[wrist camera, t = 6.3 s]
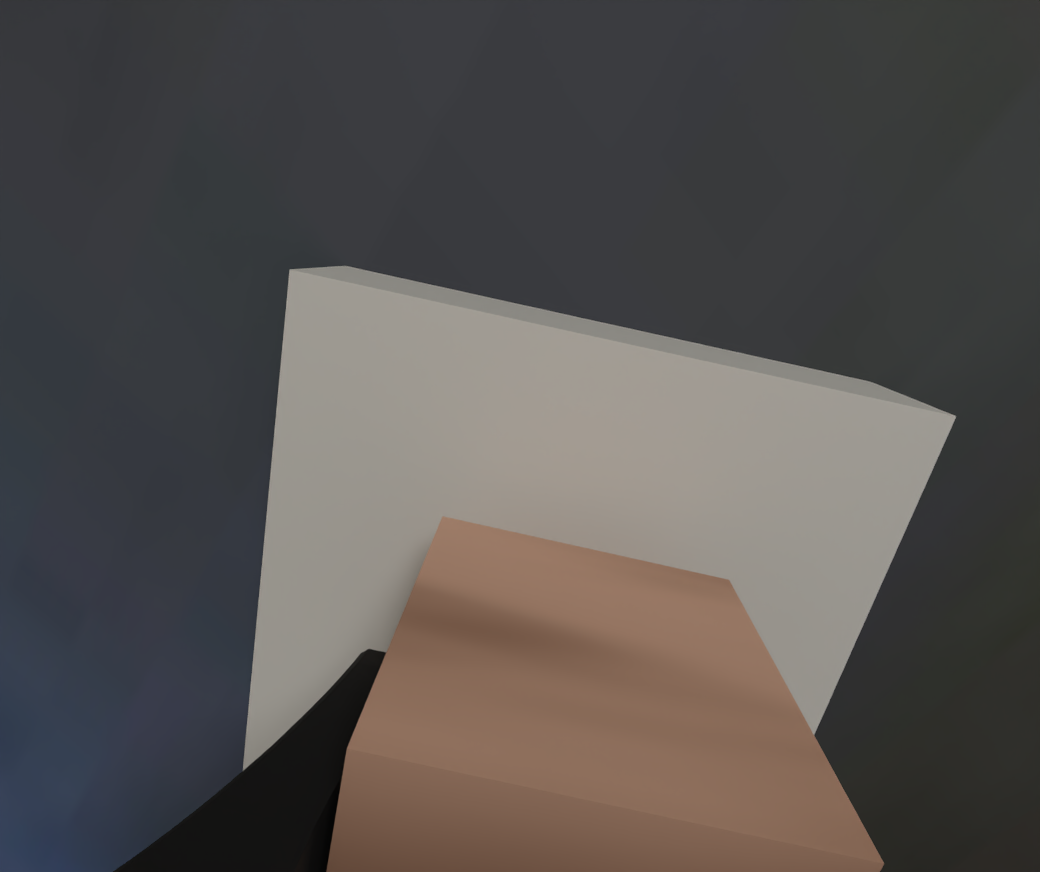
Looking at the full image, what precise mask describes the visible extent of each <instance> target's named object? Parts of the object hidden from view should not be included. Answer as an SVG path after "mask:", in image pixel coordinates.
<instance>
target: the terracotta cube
mask: <svg viewBox="0 0 1040 872" xmlns="http://www.w3.org/2000/svg"><path fill="white" fill-rule="evenodd" d="M883 865H884V863H883V861H882V859H881V857H880V855H879V853H878V852H877V850H876V848H875V846H874V844H873V842H872V841H871V839H870V837H869V835H868V833H867V831H866V830H865V828H864V826H863V824H862V822H861V821H860V819H859V817H858V815H857V813H856V811H855V810H854V808H853V806H852V804H851V802H850V800H849V799H848V797H847V795H846V793H845V791H844V789H843V788H842V786H841V784H840V782H839V780H838V778H837V777H836V775H835V773H834V771H833V769H832V767H831V766H830V764H829V762H828V760H827V758H826V756H825V755H824V753H823V751H822V749H821V747H820V745H819V744H818V742H817V740H816V738H815V736H814V734H813V733H812V731H811V729H810V727H809V725H808V723H807V722H806V720H805V718H804V716H803V714H802V712H801V711H800V709H799V707H798V705H797V703H796V701H795V700H794V698H793V696H792V694H791V692H790V690H789V689H788V687H787V685H786V683H785V681H784V679H783V678H782V676H781V674H780V672H779V670H778V668H777V667H776V665H775V663H774V661H773V659H772V658H771V656H770V654H769V652H768V650H767V648H766V647H765V645H764V643H763V641H762V639H761V637H760V636H759V634H758V632H757V630H756V628H755V626H754V625H753V623H752V621H751V619H750V617H749V615H748V614H747V612H746V610H745V608H744V606H743V604H742V603H741V601H740V599H739V597H738V595H737V593H736V592H735V590H734V588H733V586H732V584H731V582H730V581H729V580H728V579H724V578H719V577H715V576H710V575H705V574H701V573H696V572H692V571H687V570H683V569H678V568H674V567H669V566H665V565H660V564H656V563H651V562H647V561H642V560H638V559H633V558H629V557H624V556H620V555H615V554H611V553H606V552H602V551H597V550H593V549H588V548H584V547H579V546H575V545H570V544H566V543H561V542H557V541H552V540H548V539H543V538H539V537H534V536H530V535H525V534H520V533H516V532H511V531H507V530H502V529H498V528H493V527H489V526H484V525H480V524H475V523H471V522H466V521H462V520H457V519H453V518H448V517H444V516H442V519H441V521H440V523H439V526H438V528H437V531H436V533H435V536H434V538H433V540H432V543H431V545H430V548H429V550H428V553H427V555H426V557H425V560H424V562H423V565H422V567H421V570H420V572H419V574H418V577H417V579H416V582H415V584H414V587H413V589H412V591H411V594H410V596H409V599H408V601H407V604H406V606H405V608H404V611H403V613H402V616H401V618H400V621H399V623H398V625H397V628H396V630H395V633H394V635H393V638H392V640H391V642H390V645H389V647H388V650H387V652H386V655H385V657H384V660H383V662H382V664H381V667H380V669H379V672H378V674H377V677H376V679H375V681H374V684H373V686H372V689H371V691H370V694H369V696H368V698H367V701H366V703H365V706H364V708H363V711H362V713H361V715H360V718H359V720H358V723H357V725H356V728H355V730H354V732H353V735H352V737H351V740H350V742H349V745H348V747H347V751H346V757H345V763H344V769H343V775H342V781H341V787H340V793H339V799H338V805H337V811H336V817H335V823H334V829H333V835H332V841H331V847H330V853H329V859H328V865H327V871H326V872H880V870H881V869H882V867H883Z"/></svg>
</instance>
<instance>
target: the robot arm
mask: <svg viewBox="0 0 1040 872" xmlns="http://www.w3.org/2000/svg"><path fill="white" fill-rule="evenodd" d="M385 655H386V652H382V651H377V650H372V649H367V650H366V651H364V652H362V653H360V655H359V656H358V657H357V658H356V660H355V661H354V662H353V663H352V664H351V666H350V667H349V668H348V669H347V670H346V671H345V672H344V674H343V675H342V676H341V677H340V678H339V679H338V680H337V681H336V682H335V683H334V685H333V686H332V687H331V688H330V689H329V690H328V691H327V692H326V693H325V694H324V695H323V696H322V697H321V698H320V699H319V700H318V701H317V702H316V703H315V704H314V705H313V706H312V707H311V708H310V709H309V710H308V711H307V712H306V713H305V714H304V715H303V716H302V717H301V718H300V719H299V720H298V721H297V722H296V723H295V724H294V725H293V726H292V727H291V728H290V729H289V730H288V731H287V732H286V733H285V734H284V735H282V736H281V737H280V738H279V739H278V740H277V741H276V742H275V743H274V744H273V745H272V746H271V747H270V748H269V749H267V750H266V751H265V752H264V753H263V754H262V755H261V756H259V757H258V758H257V759H256V760H255V761H254V762H253V763H251V764H250V765H249V766H248V767H247V768H246V769H245V770H243V771H242V772H241V773H240V774H239V775H238V776H236V777H235V778H234V779H233V780H232V781H231V782H230V783H228V784H227V785H226V786H225V787H224V788H223V789H221V790H220V791H219V792H218V793H217V794H215V795H214V796H213V797H212V798H211V799H209V800H208V801H207V802H206V803H204V804H203V805H202V806H201V807H199V808H198V809H197V810H196V811H194V812H193V813H192V814H191V815H189V816H188V817H187V818H185V819H184V820H183V821H182V822H180V823H179V824H178V825H176V826H175V827H174V828H172V829H171V830H170V831H168V832H167V833H166V834H165V835H163V836H162V837H161V838H159V839H158V840H157V841H155V842H154V843H153V844H151V845H150V846H149V847H147V848H146V849H145V850H143V851H142V852H140V853H139V854H138V855H136V856H135V857H133V858H132V859H131V860H129V861H128V862H126V863H125V864H123V865H122V866H121V867H119V868H118V869H116V870H115V871H113V872H326V871H327V865H328V859H329V853H330V847H331V841H332V835H333V829H334V823H335V817H336V811H337V805H338V799H339V793H340V787H341V781H342V775H343V769H344V763H345V757H346V751H347V747H348V745H349V742H350V740H351V737H352V735H353V732H354V730H355V728H356V725H357V723H358V720H359V718H360V715H361V713H362V711H363V708H364V706H365V703H366V701H367V698H368V696H369V694H370V691H371V689H372V686H373V684H374V681H375V679H376V677H377V674H378V672H379V669H380V667H381V664H382V662H383V660H384V657H385ZM880 872H881V871H880Z"/></svg>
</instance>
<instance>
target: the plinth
mask: <svg viewBox="0 0 1040 872" xmlns="http://www.w3.org/2000/svg"><path fill="white" fill-rule="evenodd" d="M955 418H956V416H954V415H952V414H949V413H947V412H944V411H942V410H939V409H937V408H934V407H932V406H929V405H927V404H924V403H922V402H919V401H917V400H914V399H912V398H910V397H907V396H905V395H902V394H900V393H897V392H895V391H892V390H890V389H887V388H885V387H882V386H880V385H877V384H875V383H872V382H869V381H865V380H860V379H856V378H851V377H847V376H842V375H838V374H833V373H829V372H824V371H820V370H815V369H811V368H806V367H802V366H797V365H792V364H788V363H783V362H779V361H774V360H770V359H765V358H761V357H756V356H752V355H747V354H743V353H738V352H734V351H729V350H725V349H720V348H715V347H711V346H706V345H702V344H697V343H693V342H688V341H684V340H679V339H675V338H670V337H666V336H661V335H657V334H652V333H647V332H643V331H638V330H634V329H629V328H625V327H620V326H616V325H611V324H607V323H602V322H598V321H593V320H589V319H584V318H580V317H575V316H570V315H566V314H561V313H557V312H552V311H548V310H543V309H539V308H534V307H530V306H525V305H521V304H516V303H512V302H507V301H503V300H498V299H493V298H489V297H484V296H480V295H475V294H471V293H466V292H462V291H457V290H453V289H448V288H444V287H439V286H435V285H430V284H426V283H421V282H416V281H412V280H407V279H403V278H398V277H394V276H389V275H385V274H380V273H376V272H371V271H367V270H362V269H358V268H353V267H349V266H336V267H320V268H305V269H290V272H289V283H288V293H287V304H286V315H285V325H284V336H283V347H282V357H281V368H280V379H279V389H278V400H277V411H276V421H275V432H274V443H273V453H272V464H271V475H270V485H269V496H268V507H267V517H266V528H265V539H264V549H263V560H262V571H261V581H260V592H259V603H258V613H257V624H256V635H255V645H254V656H253V667H252V677H251V688H250V699H249V709H248V720H247V731H246V741H245V752H244V763H243V770H245V769H246V768H247V767H248V766H249V765H250V764H251V763H253V762H254V761H255V760H256V759H257V758H258V757H259V756H261V755H262V754H263V753H264V752H265V751H266V750H267V749H269V748H270V747H271V746H272V745H273V744H274V743H275V742H276V741H277V740H278V739H279V738H280V737H281V736H282V735H284V734H285V733H286V732H287V731H288V730H289V729H290V728H291V727H292V726H293V725H294V724H295V723H296V722H297V721H298V720H299V719H300V718H301V717H302V716H303V715H304V714H305V713H306V712H307V711H308V710H309V709H310V708H311V707H312V706H313V705H314V704H315V703H316V702H317V701H318V700H319V699H320V698H321V697H322V696H323V695H324V694H325V693H326V692H327V691H328V690H329V689H330V688H331V687H332V686H333V685H334V683H335V682H336V681H337V680H338V679H339V678H340V677H341V676H342V675H343V674H344V672H345V671H346V670H347V669H348V668H349V667H350V666H351V664H352V663H353V662H354V661H355V660H356V658H357V657H358V656H359V655H360V653H362V652H364V651H366V650H367V649H372V650H377V651H382V652H387V650H388V647H389V645H390V642H391V640H392V638H393V635H394V633H395V630H396V628H397V625H398V623H399V621H400V618H401V616H402V613H403V611H404V608H405V606H406V604H407V601H408V599H409V596H410V594H411V591H412V589H413V587H414V584H415V582H416V579H417V577H418V574H419V572H420V570H421V567H422V565H423V562H424V560H425V557H426V555H427V553H428V550H429V548H430V545H431V543H432V540H433V538H434V536H435V533H436V531H437V528H438V526H439V523H440V521H441V519H442V516H444V517H448V518H453V519H457V520H462V521H466V522H471V523H475V524H480V525H484V526H489V527H493V528H498V529H502V530H507V531H511V532H516V533H520V534H525V535H530V536H534V537H539V538H543V539H548V540H552V541H557V542H561V543H566V544H570V545H575V546H579V547H584V548H588V549H593V550H597V551H602V552H606V553H611V554H615V555H620V556H624V557H629V558H633V559H638V560H642V561H647V562H651V563H656V564H660V565H665V566H669V567H674V568H678V569H683V570H687V571H692V572H696V573H701V574H705V575H710V576H715V577H719V578H724V579H728V580H729V581H730V582H731V584H732V586H733V588H734V590H735V592H736V593H737V595H738V597H739V599H740V601H741V603H742V604H743V606H744V608H745V610H746V612H747V614H748V615H749V617H750V619H751V621H752V623H753V625H754V626H755V628H756V630H757V632H758V634H759V636H760V637H761V639H762V641H763V643H764V645H765V647H766V648H767V650H768V652H769V654H770V656H771V658H772V659H773V661H774V663H775V665H776V667H777V668H778V670H779V672H780V674H781V676H782V678H783V679H784V681H785V683H786V685H787V687H788V689H789V690H790V692H791V694H792V696H793V698H794V700H795V701H796V703H797V705H798V707H799V709H800V711H801V712H802V714H803V716H804V718H805V720H806V722H807V723H808V725H809V727H810V729H811V731H812V733H813V734H815V732H816V730H817V727H818V725H819V723H820V721H821V718H822V716H823V714H824V712H825V709H826V707H827V705H828V703H829V700H830V698H831V696H832V694H833V691H834V689H835V687H836V685H837V682H838V680H839V678H840V676H841V674H842V671H843V669H844V667H845V665H846V662H847V660H848V658H849V656H850V653H851V651H852V649H853V647H854V644H855V642H856V640H857V638H858V635H859V633H860V631H861V629H862V626H863V624H864V622H865V620H866V617H867V615H868V613H869V611H870V609H871V606H872V604H873V602H874V600H875V597H876V595H877V593H878V591H879V588H880V586H881V584H882V582H883V579H884V577H885V575H886V573H887V570H888V568H889V566H890V564H891V561H892V559H893V557H894V555H895V552H896V550H897V548H898V546H899V544H900V541H901V539H902V537H903V535H904V532H905V530H906V528H907V526H908V523H909V521H910V519H911V517H912V514H913V512H914V510H915V508H916V505H917V503H918V501H919V499H920V496H921V494H922V492H923V490H924V488H925V485H926V483H927V481H928V479H929V476H930V474H931V472H932V470H933V467H934V465H935V463H936V461H937V458H938V456H939V454H940V452H941V449H942V447H943V445H944V443H945V440H946V438H947V436H948V434H949V431H950V429H951V427H952V425H953V423H954V420H955Z"/></svg>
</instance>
